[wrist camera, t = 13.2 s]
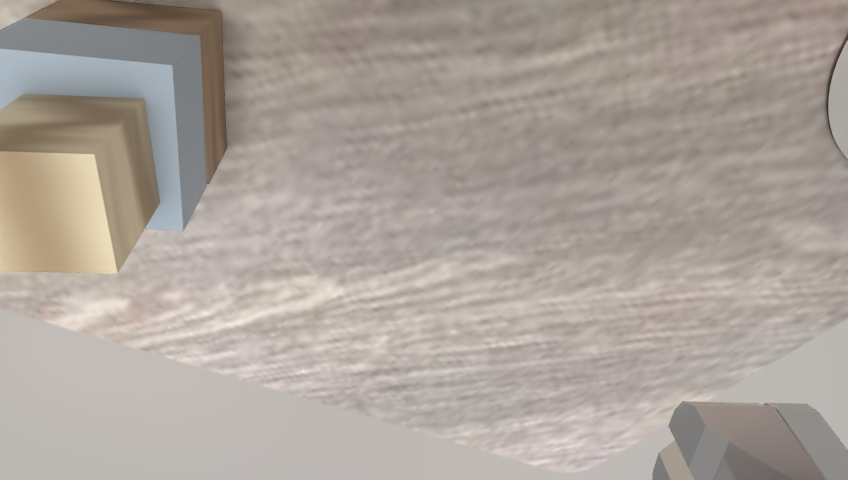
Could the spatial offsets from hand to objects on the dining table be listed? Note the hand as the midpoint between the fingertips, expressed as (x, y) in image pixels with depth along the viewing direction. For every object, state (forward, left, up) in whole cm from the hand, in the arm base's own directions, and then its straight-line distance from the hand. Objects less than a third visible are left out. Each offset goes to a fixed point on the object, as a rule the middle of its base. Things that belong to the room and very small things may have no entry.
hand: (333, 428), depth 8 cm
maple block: (+12, +7, -23) cm, 27 cm away
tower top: (+12, +7, -28) cm, 32 cm away
